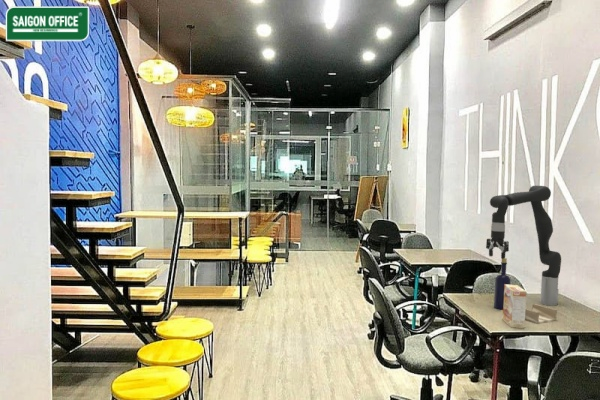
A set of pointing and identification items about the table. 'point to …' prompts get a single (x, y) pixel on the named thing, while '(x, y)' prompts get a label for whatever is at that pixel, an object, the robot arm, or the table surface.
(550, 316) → the u rest
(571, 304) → the table surface
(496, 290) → the bottle
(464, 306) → the table surface
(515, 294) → the coffeecake box
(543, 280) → the robot arm
